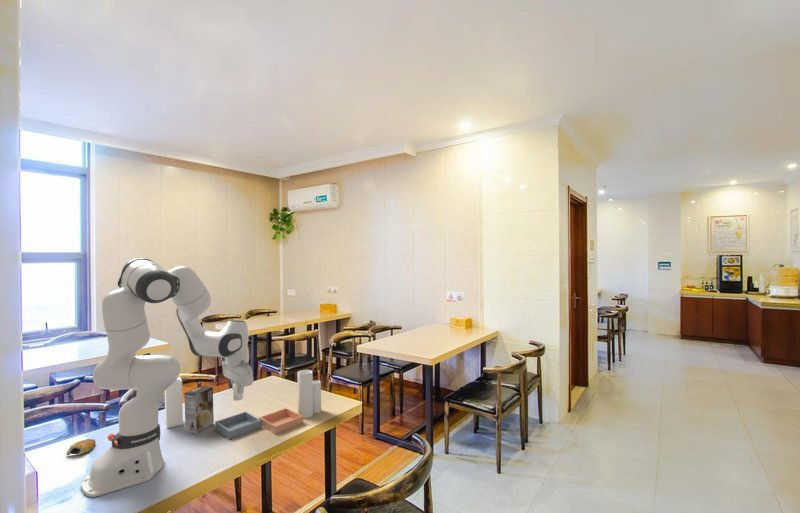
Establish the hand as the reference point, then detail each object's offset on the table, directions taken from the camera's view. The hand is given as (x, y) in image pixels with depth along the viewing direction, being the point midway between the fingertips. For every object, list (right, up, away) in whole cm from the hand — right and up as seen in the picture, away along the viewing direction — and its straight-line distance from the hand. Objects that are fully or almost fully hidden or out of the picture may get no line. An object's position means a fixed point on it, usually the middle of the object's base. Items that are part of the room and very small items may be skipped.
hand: (238, 391), depth 160 cm
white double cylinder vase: (+26, -16, +14) cm, 34 cm away
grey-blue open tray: (0, -16, 0) cm, 16 cm away
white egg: (0, -3, 0) cm, 3 cm away
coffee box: (-17, -16, +2) cm, 24 cm away
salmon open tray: (+17, -16, +4) cm, 23 cm away
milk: (-30, -16, +6) cm, 35 cm away
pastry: (-52, -17, -16) cm, 57 cm away
